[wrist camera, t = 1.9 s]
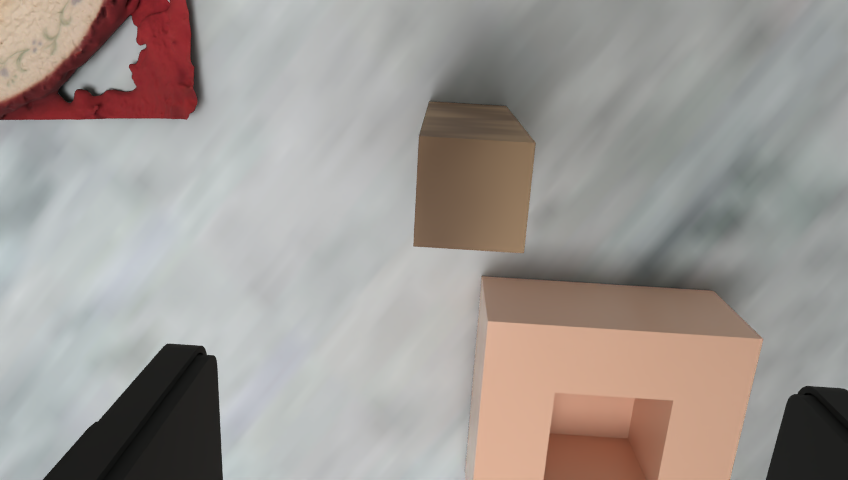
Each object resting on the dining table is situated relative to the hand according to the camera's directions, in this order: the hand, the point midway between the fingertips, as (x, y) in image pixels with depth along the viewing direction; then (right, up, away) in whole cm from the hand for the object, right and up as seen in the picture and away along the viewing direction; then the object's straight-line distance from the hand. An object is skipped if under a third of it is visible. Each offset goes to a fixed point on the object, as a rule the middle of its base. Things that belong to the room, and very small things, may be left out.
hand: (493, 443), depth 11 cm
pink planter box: (+8, -5, +28) cm, 29 cm away
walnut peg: (+1, +8, +24) cm, 25 cm away
